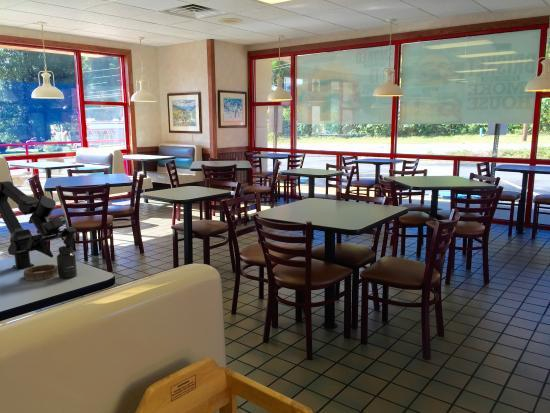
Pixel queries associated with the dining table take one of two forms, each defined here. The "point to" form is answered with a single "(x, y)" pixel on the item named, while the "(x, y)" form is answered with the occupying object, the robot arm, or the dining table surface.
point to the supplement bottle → (66, 263)
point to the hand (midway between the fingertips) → (63, 253)
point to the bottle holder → (40, 272)
